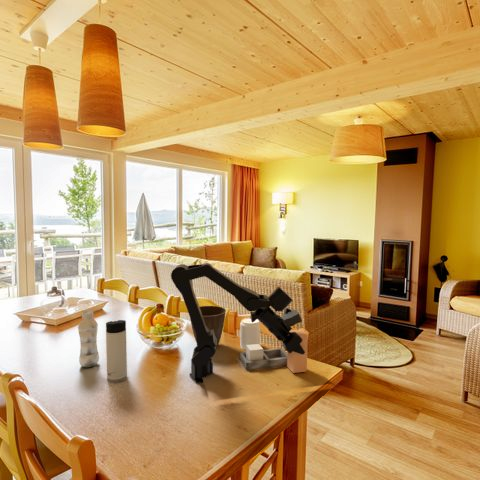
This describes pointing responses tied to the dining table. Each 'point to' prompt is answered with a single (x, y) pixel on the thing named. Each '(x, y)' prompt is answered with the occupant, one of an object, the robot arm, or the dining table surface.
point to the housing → (264, 360)
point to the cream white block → (254, 352)
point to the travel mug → (116, 351)
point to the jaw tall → (298, 355)
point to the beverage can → (249, 332)
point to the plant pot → (213, 320)
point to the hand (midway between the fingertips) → (301, 350)
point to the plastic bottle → (88, 340)
